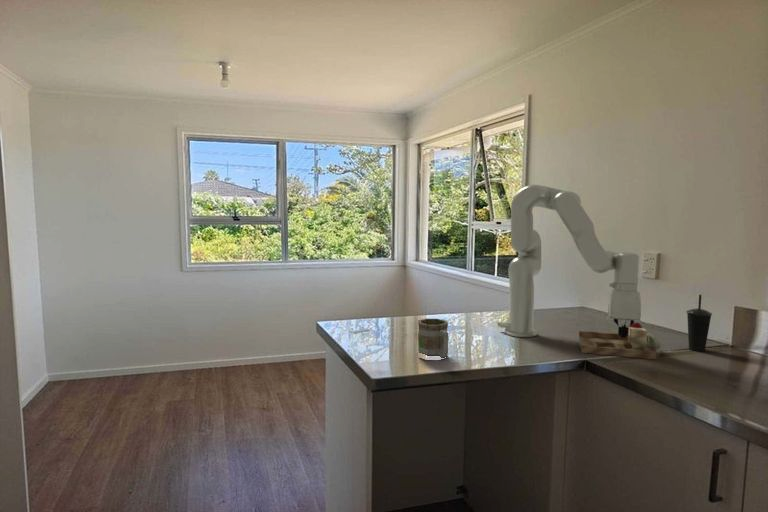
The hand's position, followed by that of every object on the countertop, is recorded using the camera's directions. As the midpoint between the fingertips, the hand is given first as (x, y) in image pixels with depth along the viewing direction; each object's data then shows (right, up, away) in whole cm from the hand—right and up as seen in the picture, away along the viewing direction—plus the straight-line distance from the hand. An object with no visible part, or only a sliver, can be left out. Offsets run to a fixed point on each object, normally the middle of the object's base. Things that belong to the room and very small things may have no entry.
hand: (622, 337), depth 169 cm
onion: (+11, -3, +13) cm, 17 cm away
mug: (-69, -6, -10) cm, 70 cm away
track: (-3, -4, -2) cm, 6 cm away
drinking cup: (+26, -5, -1) cm, 27 cm away
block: (+4, -2, -1) cm, 5 cm away
